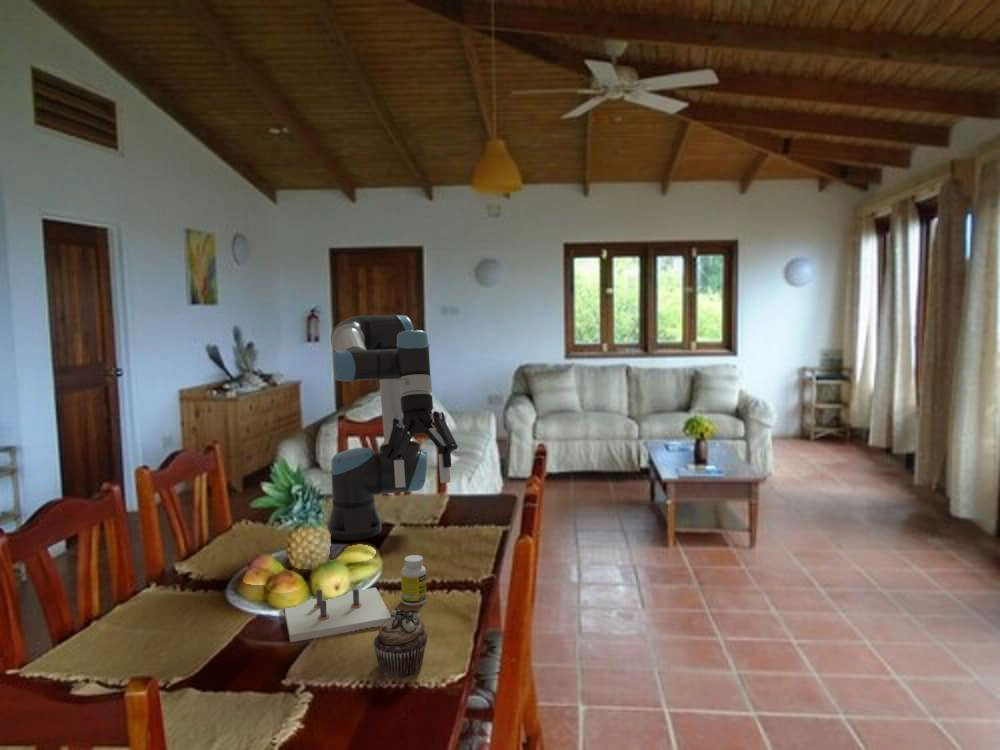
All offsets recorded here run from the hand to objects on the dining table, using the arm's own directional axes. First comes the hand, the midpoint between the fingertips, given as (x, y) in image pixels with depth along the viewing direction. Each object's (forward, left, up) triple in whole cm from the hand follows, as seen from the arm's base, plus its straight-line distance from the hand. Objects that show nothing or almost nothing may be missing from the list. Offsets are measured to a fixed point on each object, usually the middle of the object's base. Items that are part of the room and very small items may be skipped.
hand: (422, 485), depth 167 cm
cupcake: (+37, -15, -23) cm, 46 cm away
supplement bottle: (+11, -5, -23) cm, 26 cm away
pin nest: (+12, -22, -23) cm, 34 cm away
